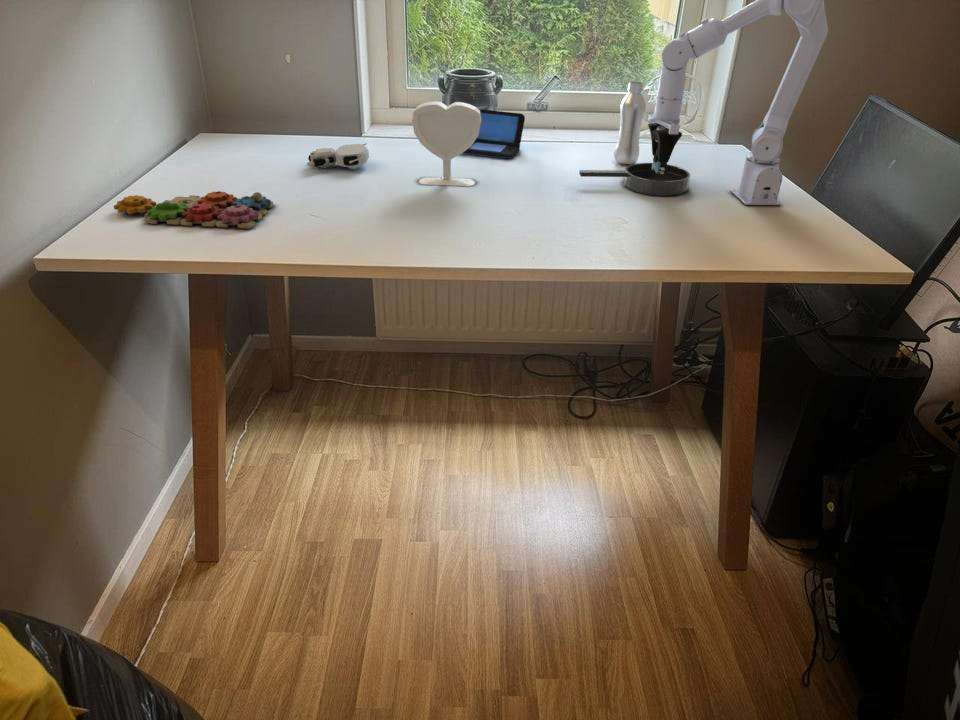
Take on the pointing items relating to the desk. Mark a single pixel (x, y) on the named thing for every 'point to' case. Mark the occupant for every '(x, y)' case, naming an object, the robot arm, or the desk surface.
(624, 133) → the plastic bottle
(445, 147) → the heart sculpture
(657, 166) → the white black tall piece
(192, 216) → the gear puzzle
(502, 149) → the game console
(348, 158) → the robot toy
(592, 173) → the pan handle
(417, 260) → the desk surface
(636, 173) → the pan
